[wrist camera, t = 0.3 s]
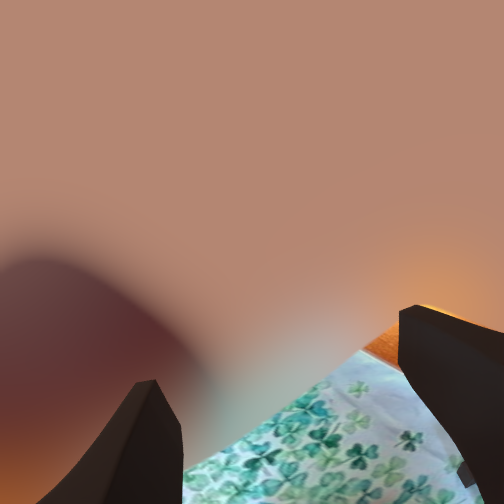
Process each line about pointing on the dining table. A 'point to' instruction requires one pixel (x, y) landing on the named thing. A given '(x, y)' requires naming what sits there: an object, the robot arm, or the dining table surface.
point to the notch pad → (465, 475)
